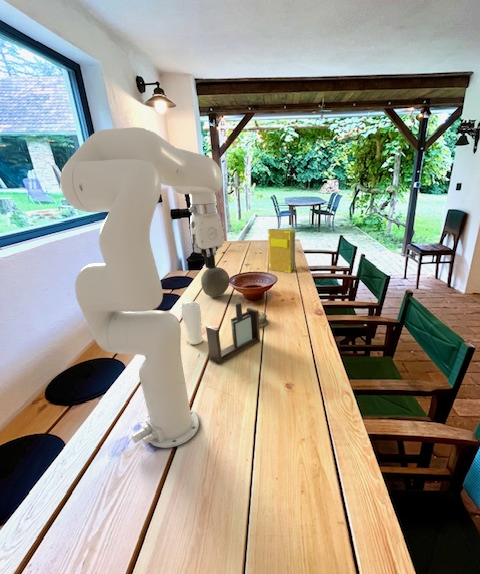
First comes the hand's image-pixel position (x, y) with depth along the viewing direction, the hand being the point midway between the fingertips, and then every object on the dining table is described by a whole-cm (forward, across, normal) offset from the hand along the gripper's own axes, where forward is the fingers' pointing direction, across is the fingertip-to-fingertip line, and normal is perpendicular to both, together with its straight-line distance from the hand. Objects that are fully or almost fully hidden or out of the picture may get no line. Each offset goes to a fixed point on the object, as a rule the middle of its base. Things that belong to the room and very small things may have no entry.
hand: (210, 267), depth 107 cm
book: (+30, +91, +44) cm, 105 cm away
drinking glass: (+29, -4, +9) cm, 31 cm away
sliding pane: (+28, +4, -9) cm, 30 cm away
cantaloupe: (+29, +34, +41) cm, 61 cm away
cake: (+29, +22, +2) cm, 37 cm away
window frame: (+29, +1, -8) cm, 30 cm away
